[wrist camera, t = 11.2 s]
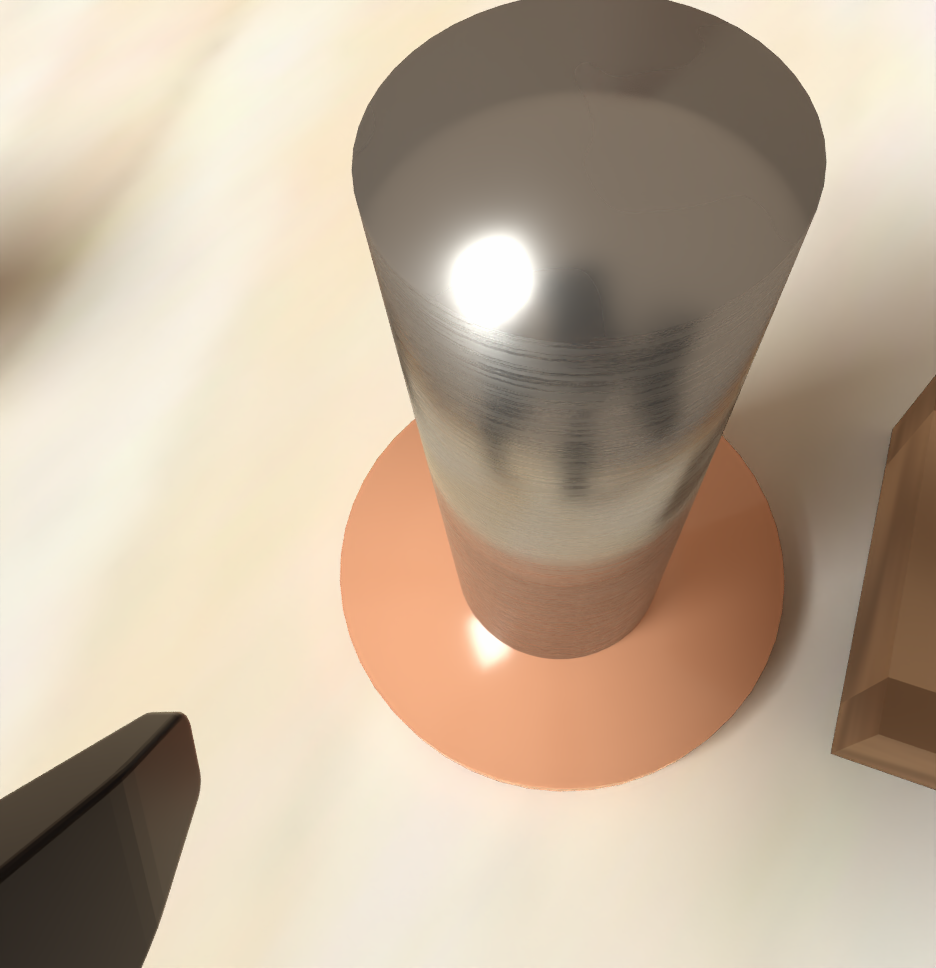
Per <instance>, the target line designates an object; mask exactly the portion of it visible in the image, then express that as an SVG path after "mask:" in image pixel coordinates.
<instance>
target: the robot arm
mask: <svg viewBox="0 0 936 968" xmlns="http://www.w3.org/2000/svg"><path fill="white" fill-rule="evenodd" d="M200 785H201V776H200V769H199V764H198V759H197V755H196V750H195V745H194V740H193V735H192V730H191V725H190V722H189V720H188V718H187V716H186V715H184V714H183V713H182V712H151V713H146V714H144V715H143V716H141V717H139V718H137V719H136V720H134V721H132V722H131V723H129V724H127V725H126V726H124V727H122V728H120V729H119V730H117V731H115V732H114V733H112V734H110V735H109V736H107V737H105V738H104V739H102V740H100V741H98V742H97V743H95V744H93V745H92V746H90V747H88V748H87V749H85V750H83V751H81V752H80V753H78V754H76V755H75V756H73V757H71V758H70V759H68V760H66V761H64V762H63V763H61V764H59V765H58V766H56V767H54V768H53V769H51V770H49V771H48V772H46V773H44V774H42V775H41V776H39V777H37V778H36V779H34V780H32V781H31V782H29V783H27V784H25V785H24V786H22V787H20V788H19V789H17V790H15V791H14V792H12V793H10V794H8V795H7V796H5V797H3V798H2V799H0V968H142V965H143V963H144V961H145V958H146V956H147V954H148V951H149V949H150V946H151V944H152V941H153V939H154V936H155V934H156V931H157V929H158V926H159V923H160V920H161V917H162V914H163V911H164V908H165V905H166V902H167V899H168V895H169V892H170V889H171V885H172V882H173V879H174V876H175V872H176V869H177V866H178V863H179V859H180V856H181V853H182V850H183V846H184V843H185V840H186V837H187V833H188V830H189V827H190V824H191V820H192V817H193V814H194V811H195V807H196V804H197V801H198V797H199V793H200Z"/></svg>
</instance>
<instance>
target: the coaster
mask: <svg viewBox="0 0 936 968" xmlns="http://www.w3.org/2000/svg"><path fill="white" fill-rule="evenodd" d="M340 585H341V594H342V604H343V611H344V615H345V619H346V623H347V627H348V631H349V635H350V638H351V640H352V643H353V645H354V648H355V650H356V653H357V655H358V658H359V660H360V663H361V664H362V666H363V668H364V670H365V671H366V673H367V675H368V677H369V678H370V680H371V682H372V684H373V685H374V687H375V688H376V690H377V691H378V692H379V694H380V695H381V696H382V698H383V699H384V700H385V701H386V703H387V704H388V705H389V707H390V708H391V709H392V710H393V712H394V713H395V714H396V715H397V716H398V717H399V718H400V719H401V720H402V721H403V722H404V723H405V724H406V725H407V726H408V727H409V728H410V729H411V730H412V731H413V732H414V733H415V734H416V735H417V736H418V737H419V738H420V739H422V740H423V741H424V742H426V743H427V744H429V745H430V746H431V747H433V748H434V749H435V750H437V751H438V752H439V753H441V754H442V755H443V756H445V757H447V758H448V759H450V760H452V761H454V762H456V763H458V764H459V765H461V766H463V767H465V768H467V769H468V770H470V771H473V772H475V773H478V774H481V775H483V776H486V777H488V778H491V779H494V780H496V781H499V782H503V783H507V784H511V785H516V786H520V787H524V788H529V789H538V790H549V791H581V790H594V789H599V788H605V787H610V786H615V785H621V784H624V783H627V782H630V781H633V780H636V779H639V778H642V777H645V776H647V775H650V774H652V773H654V772H656V771H658V770H660V769H662V768H664V767H666V766H668V765H670V764H672V763H674V762H676V761H678V760H679V759H681V758H682V757H684V756H685V755H686V754H688V753H689V752H691V751H692V750H693V749H695V748H696V747H698V746H699V745H701V744H702V743H703V742H705V741H706V740H707V739H708V738H710V737H711V736H712V735H713V734H714V733H715V732H716V731H717V730H718V729H719V728H720V727H721V726H722V725H723V724H724V723H725V722H726V721H727V720H729V719H730V718H731V717H732V716H733V714H734V713H735V712H736V711H737V709H738V708H739V707H740V705H741V704H742V703H743V702H744V700H745V699H746V698H747V696H748V695H749V694H750V693H751V691H752V689H753V687H754V686H755V684H756V682H757V680H758V679H759V677H760V675H761V673H762V672H763V670H764V668H765V666H766V664H767V661H768V658H769V656H770V653H771V651H772V648H773V645H774V643H775V640H776V637H777V632H778V628H779V623H780V619H781V614H782V608H783V595H784V569H783V555H782V550H781V545H780V540H779V536H778V531H777V527H776V524H775V521H774V518H773V516H772V513H771V510H770V507H769V504H768V502H767V500H766V498H765V496H764V494H763V492H762V490H761V488H760V486H759V484H758V482H757V480H756V478H755V477H754V475H753V474H752V472H751V471H750V469H749V468H748V467H747V465H746V464H745V462H744V461H743V459H742V458H741V457H740V455H739V454H738V453H737V452H736V451H735V449H734V448H733V447H732V446H731V445H730V444H729V443H728V442H727V441H726V439H725V438H724V437H723V436H721V438H720V441H719V443H718V445H717V448H716V450H715V452H714V455H713V457H712V460H711V462H710V464H709V467H708V469H707V472H706V474H705V476H704V479H703V481H702V483H701V486H700V488H699V491H698V493H697V495H696V498H695V500H694V502H693V505H692V507H691V510H690V512H689V514H688V517H687V519H686V521H685V524H684V526H683V529H682V531H681V533H680V536H679V538H678V540H677V543H676V545H675V548H674V550H673V552H672V555H671V557H670V560H669V562H668V564H667V567H666V569H665V571H664V574H663V576H662V579H661V581H660V583H659V586H658V588H657V590H656V593H655V595H654V598H653V600H652V602H651V604H650V606H649V608H648V610H647V612H646V613H645V615H644V616H643V618H642V619H641V621H640V622H639V623H638V624H637V625H636V627H635V628H634V629H633V630H632V631H631V632H630V633H629V634H627V635H626V636H625V637H624V638H623V639H621V640H620V641H619V642H617V643H615V644H614V645H612V646H610V647H609V648H607V649H604V650H602V651H600V652H598V653H595V654H591V655H588V656H585V657H579V658H573V659H548V658H541V657H536V656H532V655H528V654H526V653H523V652H520V651H518V650H515V649H513V648H511V647H510V646H508V645H506V644H504V643H503V642H501V641H500V640H498V639H497V638H496V637H494V636H493V635H492V634H491V633H490V632H488V631H487V630H486V629H485V628H484V627H483V626H482V625H481V623H480V622H479V621H478V620H477V618H476V617H475V616H474V614H473V613H472V611H471V609H470V608H469V606H468V604H467V602H466V600H465V597H464V595H463V592H462V589H461V585H460V582H459V578H458V574H457V571H456V567H455V563H454V560H453V556H452V552H451V549H450V545H449V541H448V537H447V534H446V530H445V526H444V523H443V519H442V515H441V512H440V508H439V504H438V500H437V497H436V493H435V489H434V486H433V482H432V478H431V475H430V471H429V467H428V464H427V460H426V456H425V452H424V449H423V445H422V441H421V438H420V434H419V430H418V427H417V423H416V419H415V420H413V421H412V422H411V423H410V424H409V425H408V426H407V427H406V428H405V429H404V430H402V431H401V432H400V433H399V434H398V435H397V436H396V437H395V438H394V439H393V440H392V442H391V443H390V444H389V445H388V446H387V448H386V449H385V450H384V451H383V453H382V454H381V455H380V456H379V457H378V459H377V460H376V462H375V463H374V465H373V467H372V468H371V470H370V471H369V473H368V475H367V476H366V478H365V479H364V481H363V483H362V486H361V488H360V490H359V492H358V494H357V497H356V499H355V501H354V503H353V506H352V509H351V512H350V516H349V519H348V522H347V525H346V528H345V534H344V540H343V546H342V552H341V571H340Z"/></svg>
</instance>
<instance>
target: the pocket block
mask: <svg viewBox="0 0 936 968" xmlns="http://www.w3.org/2000/svg"><path fill="white" fill-rule="evenodd" d="M831 754H834V755H837V756H839V757H842V758H845V759H848V760H851V761H854V762H857V763H860V764H862V765H865V766H868V767H871V768H874V769H877V770H880V771H883V772H885V773H888V774H891V775H894V776H897V777H900V778H903V779H906V780H908V781H911V782H914V783H917V784H920V785H923V786H926V787H929V788H931V789H934V790H936V375H935V377H934V378H933V379H932V380H931V382H930V383H929V384H928V385H927V387H926V388H925V389H924V391H923V392H922V393H921V394H920V396H919V397H918V398H917V399H916V401H915V402H914V403H913V404H912V406H911V407H910V408H909V409H908V411H907V412H906V413H905V414H904V416H903V417H902V418H901V419H900V421H899V422H898V423H897V424H896V426H895V427H894V428H893V430H892V435H891V441H890V446H889V451H888V456H887V462H886V467H885V472H884V477H883V482H882V488H881V493H880V498H879V503H878V509H877V514H876V519H875V524H874V530H873V535H872V540H871V545H870V551H869V556H868V561H867V566H866V572H865V577H864V582H863V587H862V593H861V598H860V603H859V608H858V614H857V619H856V624H855V629H854V635H853V640H852V645H851V650H850V655H849V661H848V666H847V671H846V676H845V682H844V687H843V692H842V697H841V703H840V708H839V713H838V718H837V724H836V729H835V734H834V739H833V745H832V750H831Z"/></svg>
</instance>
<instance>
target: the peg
mask: <svg viewBox="0 0 936 968" xmlns="http://www.w3.org/2000/svg"><path fill="white" fill-rule="evenodd" d="M825 170H826V152H825V139H824V135H823V132H822V128H821V124H820V120H819V117H818V115H817V112H816V110H815V108H814V106H813V104H812V102H811V99H810V97H809V95H808V94H807V92H806V91H805V89H804V88H803V86H802V85H801V83H800V82H799V80H798V79H797V77H796V76H795V75H794V74H793V73H792V71H791V70H790V69H789V68H788V67H787V66H786V65H785V64H784V63H783V62H782V60H781V59H780V58H779V57H777V56H776V55H775V54H774V53H773V52H772V51H770V50H769V49H768V48H767V47H766V46H764V45H763V44H762V43H761V42H760V41H758V40H756V39H755V38H753V37H752V36H750V35H749V34H747V33H746V32H744V31H743V30H741V29H740V28H738V27H736V26H734V25H732V24H730V23H728V22H726V21H724V20H722V19H720V18H718V17H716V16H714V15H711V14H709V13H706V12H703V11H701V10H698V9H696V8H693V7H690V6H687V5H683V4H680V3H676V2H672V1H669V0H520V1H516V2H512V3H508V4H504V5H501V6H498V7H495V8H492V9H489V10H486V11H484V12H481V13H478V14H476V15H473V16H471V17H469V18H467V19H465V20H463V21H460V22H458V23H456V24H454V25H452V26H450V27H449V28H447V29H445V30H444V31H442V32H440V33H439V34H437V35H435V36H433V37H432V38H430V39H429V40H428V41H426V42H425V43H424V44H422V45H421V46H420V47H418V48H417V49H416V50H414V51H413V52H412V53H411V54H410V55H408V56H407V57H406V58H405V59H404V60H403V61H402V62H401V63H400V64H399V65H398V66H397V67H396V68H395V69H394V70H393V71H392V72H391V73H390V75H389V76H388V77H387V78H386V79H385V81H384V82H383V83H382V84H381V85H380V87H379V88H378V90H377V92H376V93H375V95H374V96H373V98H372V100H371V101H370V103H369V104H368V106H367V108H366V111H365V113H364V115H363V118H362V120H361V122H360V125H359V127H358V132H357V136H356V140H355V144H354V148H353V160H352V177H353V186H354V194H355V197H356V201H357V205H358V209H359V212H360V216H361V220H362V223H363V227H364V231H365V234H366V238H367V242H368V245H369V249H370V253H371V257H372V260H373V264H374V268H375V271H376V275H377V279H378V282H379V286H380V290H381V294H382V297H383V301H384V305H385V308H386V312H387V316H388V319H389V323H390V327H391V330H392V334H393V338H394V342H395V345H396V349H397V353H398V356H399V360H400V364H401V367H402V371H403V375H404V379H405V382H406V386H407V390H408V393H409V397H410V401H411V404H412V408H413V412H414V415H415V419H416V423H417V427H418V430H419V434H420V438H421V441H422V445H423V449H424V452H425V456H426V460H427V464H428V467H429V471H430V475H431V478H432V482H433V486H434V489H435V493H436V497H437V500H438V504H439V508H440V512H441V515H442V519H443V523H444V526H445V530H446V534H447V537H448V541H449V545H450V549H451V552H452V556H453V560H454V563H455V567H456V571H457V574H458V578H459V582H460V585H461V589H462V592H463V595H464V597H465V600H466V602H467V604H468V606H469V608H470V609H471V611H472V613H473V614H474V616H475V617H476V618H477V620H478V621H479V622H480V623H481V625H482V626H483V627H484V628H485V629H486V630H487V631H488V632H490V633H491V634H492V635H493V636H494V637H496V638H497V639H498V640H500V641H501V642H503V643H504V644H506V645H508V646H510V647H511V648H513V649H515V650H518V651H520V652H523V653H526V654H528V655H532V656H536V657H541V658H548V659H573V658H579V657H585V656H588V655H591V654H595V653H598V652H600V651H602V650H604V649H607V648H609V647H610V646H612V645H614V644H615V643H617V642H619V641H620V640H621V639H623V638H624V637H625V636H626V635H627V634H629V633H630V632H631V631H632V630H633V629H634V628H635V627H636V625H637V624H638V623H639V622H640V621H641V619H642V618H643V616H644V615H645V613H646V612H647V610H648V608H649V606H650V604H651V602H652V600H653V598H654V595H655V593H656V590H657V588H658V586H659V583H660V581H661V579H662V576H663V574H664V571H665V569H666V567H667V564H668V562H669V560H670V557H671V555H672V552H673V550H674V548H675V545H676V543H677V540H678V538H679V536H680V533H681V531H682V529H683V526H684V524H685V521H686V519H687V517H688V514H689V512H690V510H691V507H692V505H693V502H694V500H695V498H696V495H697V493H698V491H699V488H700V486H701V483H702V481H703V479H704V476H705V474H706V472H707V469H708V467H709V464H710V462H711V460H712V457H713V455H714V452H715V450H716V448H717V445H718V443H719V441H720V438H721V436H722V433H723V431H724V429H725V426H726V424H727V422H728V419H729V417H730V414H731V412H732V410H733V407H734V405H735V403H736V400H737V398H738V395H739V393H740V391H741V388H742V386H743V384H744V381H745V379H746V376H747V374H748V372H749V369H750V367H751V365H752V362H753V360H754V357H755V355H756V353H757V350H758V348H759V345H760V343H761V341H762V338H763V336H764V334H765V331H766V329H767V326H768V324H769V322H770V319H771V317H772V315H773V312H774V310H775V307H776V305H777V303H778V300H779V298H780V296H781V293H782V291H783V288H784V286H785V284H786V281H787V279H788V277H789V274H790V272H791V269H792V267H793V265H794V262H795V260H796V258H797V255H798V253H799V250H800V248H801V246H802V243H803V241H804V238H805V236H806V234H807V231H808V229H809V227H810V224H811V222H812V219H813V217H814V215H815V212H816V210H817V207H818V204H819V200H820V197H821V193H822V190H823V187H824V179H825Z"/></svg>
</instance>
